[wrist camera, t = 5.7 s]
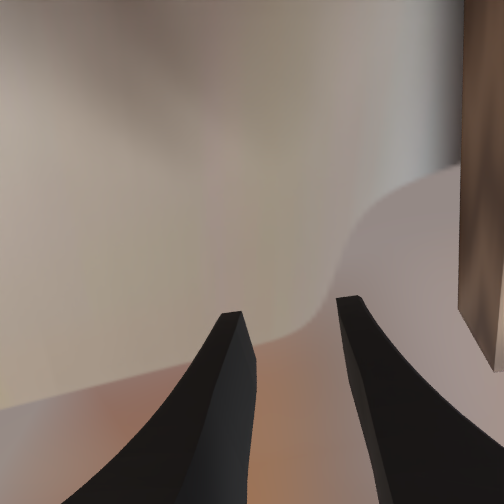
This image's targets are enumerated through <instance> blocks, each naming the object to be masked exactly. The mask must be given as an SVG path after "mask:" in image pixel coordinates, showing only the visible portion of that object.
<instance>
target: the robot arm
mask: <svg viewBox="0 0 504 504" xmlns="http://www.w3.org/2000/svg"><path fill="white" fill-rule="evenodd" d="M336 301H337V308H338V316H339V323H340V330H341V336H342V343H343V350H344V355H345V362H346V368H347V373H348V379H349V384H350V388H351V391H352V395H353V398H354V402H355V406H356V409H357V412H358V416H359V420H360V424H361V427H362V431H363V434H364V438H365V441H366V445H367V449H368V452H369V456H370V460H371V464H372V469H373V473H374V478H375V484H376V489H377V494H378V500H379V504H504V447H503V446H501V445H500V444H498V443H497V442H496V441H495V440H493V439H492V438H491V437H490V436H488V435H487V434H486V433H485V432H483V431H482V430H481V429H480V428H478V427H477V426H476V425H475V424H473V423H472V422H471V421H470V420H468V419H467V418H466V417H465V416H463V415H462V414H461V413H460V412H459V411H458V410H457V409H455V408H454V407H453V406H452V405H451V404H450V403H449V402H448V401H446V400H445V399H444V398H443V397H442V396H441V395H440V394H439V393H438V392H437V391H436V390H435V389H434V388H433V387H432V386H431V385H429V383H428V382H427V381H426V380H425V379H424V378H422V376H421V375H420V374H419V373H418V372H417V371H416V370H415V369H414V368H413V367H412V366H411V365H410V363H408V361H407V360H406V359H405V358H404V357H403V356H402V355H401V353H400V352H399V351H398V350H397V349H396V347H395V346H394V345H393V344H392V343H391V341H390V340H389V339H388V337H387V336H386V335H385V333H384V332H383V331H382V329H381V328H380V327H379V325H378V324H377V323H376V321H375V320H374V318H373V317H372V315H371V313H370V312H369V310H368V309H367V307H366V305H365V303H364V301H363V299H362V298H361V297H360V296H358V295H356V296H348V297H341V298H336ZM256 389H257V376H256V357H255V354H254V350H253V347H252V344H251V340H250V337H249V334H248V330H247V327H246V324H245V321H244V317H243V314H242V311H237V312H229V313H222V314H221V315H220V317H219V318H218V320H217V322H216V323H215V325H214V327H213V329H212V330H211V332H210V334H209V336H208V337H207V339H206V341H205V342H204V344H203V346H202V347H201V349H200V351H199V352H198V354H197V355H196V357H195V358H194V360H193V362H192V363H191V365H190V366H189V368H188V369H187V371H186V372H185V374H184V375H183V377H182V378H181V379H180V381H179V382H178V384H177V385H176V386H175V388H174V390H173V391H172V392H171V393H170V395H169V396H168V397H167V399H166V400H165V401H164V403H163V404H162V405H161V406H160V408H159V409H158V410H157V411H156V412H155V414H154V415H153V416H152V417H151V419H150V420H149V421H148V422H147V423H146V424H145V425H144V427H143V428H142V429H141V430H140V431H139V432H138V433H137V434H136V435H135V436H134V438H132V439H131V440H130V442H129V443H128V444H127V445H126V446H125V447H124V448H123V449H122V450H121V451H120V452H119V453H118V454H117V455H116V456H115V457H114V458H113V459H112V460H111V461H110V462H109V463H108V464H106V466H104V467H103V468H102V469H101V470H100V471H99V472H98V473H97V474H96V475H95V476H93V477H92V478H91V479H90V480H89V481H88V482H87V483H86V484H84V485H83V486H82V487H81V488H80V489H79V490H77V491H76V492H75V493H74V494H73V495H72V496H70V497H69V498H68V499H66V500H65V501H64V502H63V503H61V504H247V477H248V464H249V455H250V446H251V437H252V428H253V420H254V411H255V402H256V392H257V391H256Z"/></svg>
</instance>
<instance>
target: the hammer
mask: <svg viewBox="0 0 504 504" xmlns="http://www.w3.org/2000/svg"><path fill="white" fill-rule="evenodd" d="M460 171H461V172H460V173H461V174H460V175H461V176H460V220H459V270H458V274H459V275H458V310H459V312H460V314H461V315H462V317H463V319H464V321H465V322H466V324H467V326H468V328H469V329H470V331H471V333H472V335H473V337H474V338H475V340H476V342H477V344H478V345H479V347H480V349H481V351H482V352H483V354H484V356H485V358H486V360H487V361H488V363H489V365H490V367H491V368H492V370H493V372H502V371H504V0H464V43H463V92H462V141H461V170H460Z"/></svg>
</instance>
